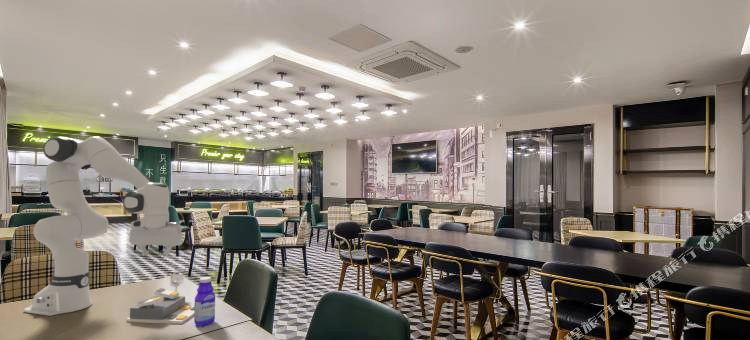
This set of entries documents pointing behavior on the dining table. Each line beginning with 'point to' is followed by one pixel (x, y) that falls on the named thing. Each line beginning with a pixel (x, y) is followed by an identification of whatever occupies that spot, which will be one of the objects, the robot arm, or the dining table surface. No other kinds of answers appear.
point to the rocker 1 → (150, 301)
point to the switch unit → (163, 311)
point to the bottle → (204, 303)
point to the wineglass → (176, 279)
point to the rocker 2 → (166, 293)
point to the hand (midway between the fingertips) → (155, 255)
